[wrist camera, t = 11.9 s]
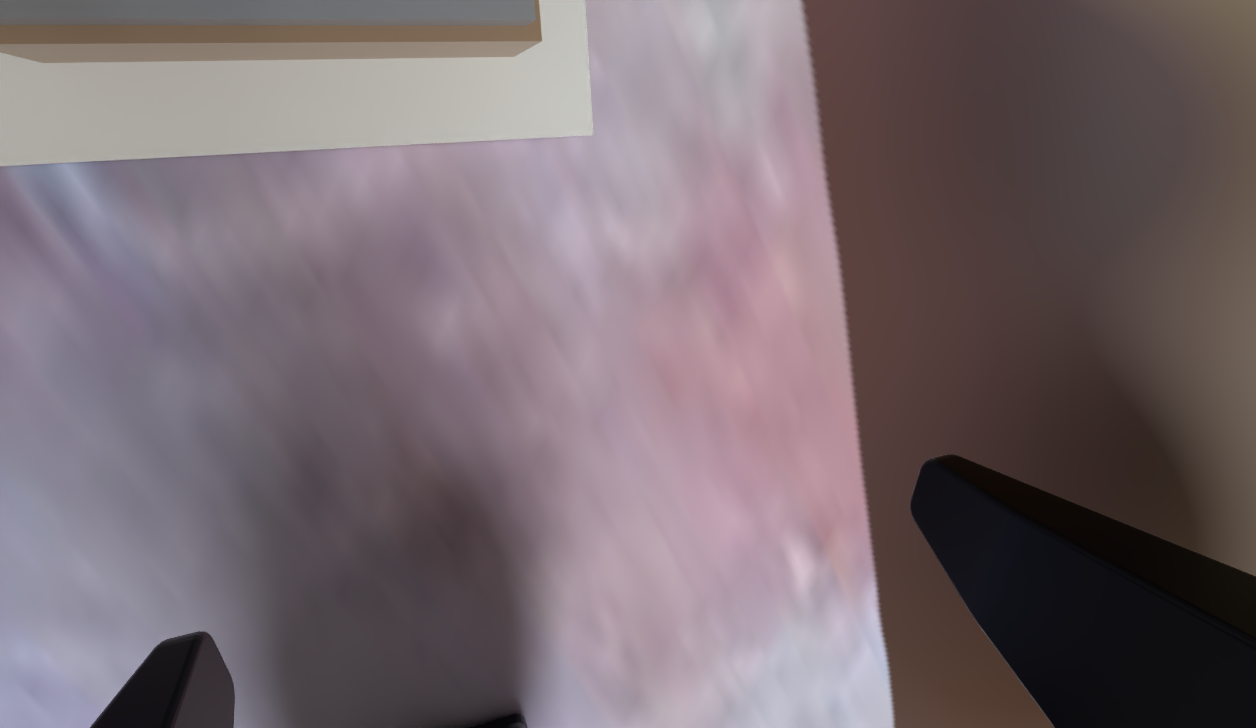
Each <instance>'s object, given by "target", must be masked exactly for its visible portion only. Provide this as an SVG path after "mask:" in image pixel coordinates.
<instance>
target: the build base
mask: <svg viewBox="0 0 1256 728" xmlns="http://www.w3.org/2000/svg"><path fill="white" fill-rule="evenodd" d="M585 135H593V122H592V106H591V89H590V73H589V57H588V41H587V24H586V8H585V0H0V166H15V165H34V164H53V163H72V162H91V161H110V160H129V159H148V158H167V157H186V156H205V155H224V154H243V153H262V152H281V151H300V150H319V149H338V148H357V147H376V146H395V145H414V144H433V143H452V142H471V141H490V140H509V139H528V138H547V137H566V136H585Z"/></svg>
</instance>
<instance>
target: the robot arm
mask: <svg viewBox="0 0 1256 728" xmlns="http://www.w3.org/2000/svg"><path fill="white" fill-rule="evenodd" d="M910 511H911V514H912V517H913V519H914V521H915V523H916V524H917V526H918V528H919V529H920V531H921V533H922V534H923V536H924V538H925V539H926V541H927V543H928V544H929V546H930V547H931V549H932V551H933V552H934V554H935V556H936V557H937V559H938V561H939V562H940V564H941V566H942V567H943V569H944V571H945V572H946V574H947V576H948V577H949V579H950V581H951V582H952V584H953V585H954V587H955V589H956V591H957V592H958V594H959V596H960V597H961V599H962V600H963V602H964V603H965V605H966V607H967V608H968V609H969V611H970V613H971V614H972V616H973V617H974V619H975V620H976V621H977V623H978V624H979V626H980V627H981V628H982V630H983V631H984V633H985V634H986V635H987V637H988V638H989V639H990V641H991V642H992V643H993V645H994V646H995V648H996V649H997V650H998V652H999V653H1000V654H1001V656H1002V657H1003V658H1004V660H1005V661H1006V662H1007V664H1008V665H1009V666H1010V668H1011V669H1012V671H1013V672H1014V673H1015V674H1016V676H1017V677H1018V679H1019V680H1020V682H1021V683H1022V684H1023V686H1024V687H1025V688H1026V690H1027V691H1028V692H1029V694H1030V695H1031V696H1032V698H1033V699H1034V701H1035V702H1036V703H1037V705H1038V706H1039V707H1040V709H1041V710H1042V711H1043V713H1044V714H1045V715H1046V717H1047V718H1048V719H1049V721H1050V722H1051V724H1052V725H1053V726H1054V728H1256V576H1253V575H1251V574H1248V573H1246V572H1243V571H1241V570H1238V569H1236V568H1234V567H1231V566H1229V565H1226V564H1224V563H1221V562H1219V561H1216V560H1214V559H1211V558H1209V557H1206V556H1204V555H1202V554H1199V553H1197V552H1194V551H1191V550H1189V549H1187V548H1184V547H1182V546H1179V545H1177V544H1174V543H1172V542H1170V541H1167V540H1165V539H1162V538H1160V537H1157V536H1155V535H1152V534H1150V533H1147V532H1145V531H1142V530H1140V529H1137V528H1135V527H1133V526H1130V525H1128V524H1125V523H1123V522H1120V521H1118V520H1115V519H1113V518H1110V517H1108V516H1105V515H1103V514H1101V513H1098V512H1096V511H1093V510H1091V509H1088V508H1086V507H1083V506H1081V505H1078V504H1076V503H1073V502H1071V501H1068V500H1066V499H1063V498H1061V497H1059V496H1056V495H1054V494H1051V493H1049V492H1046V491H1044V490H1041V489H1039V488H1036V487H1034V486H1031V485H1029V484H1026V483H1024V482H1022V481H1019V480H1017V479H1014V478H1011V477H1009V476H1007V475H1004V474H1002V473H1000V472H997V471H994V470H992V469H990V468H987V467H985V466H982V465H980V464H977V463H975V462H972V461H970V460H967V459H965V458H962V457H960V456H957V455H954V454H947V455H942V456H938V457H934V458H929V459H927V460H926V461H924V463H923V464H922V465H921V468H920V471H919V474H918V477H917V480H916V484H915V487H914V490H913V493H912V496H911V500H910ZM234 703H235V695H234V685H233V681H232V677H231V675H230V673H229V671H228V669H227V667H226V665H225V663H224V661H223V659H222V656H221V654H220V652H219V650H218V648H217V646H216V644H215V642H214V640H213V638H212V637H211V636H210V635H209V634H208V633H207V632H200V631H199V632H195V633H191V634H187V635H183V636H178V637H174V638H170V639H167V640H164V641H163V642H161V643H160V644H159V645H157V646H156V647H155V648H154V649H153V651H152V652H151V653H150V654H149V655H148V657H147V658H146V659H145V660H144V662H143V663H142V664H141V665H140V667H139V668H138V669H137V670H136V671H135V673H134V674H133V675H132V676H131V678H130V679H129V680H128V681H127V683H126V684H125V685H124V686H123V687H122V689H121V690H120V691H119V692H118V694H117V695H116V696H115V697H114V699H113V700H112V701H111V702H110V704H109V705H108V706H107V707H106V708H105V710H104V711H103V712H102V713H101V715H100V716H99V717H98V718H97V720H96V721H95V722H94V723H93V724H92V726H91V727H90V728H233V726H234ZM472 728H527V725H526V721H525V719H524V717H523V716H522V715H520V714H512V715H508V716H505V717H502V718H499V719H496V720H493V721H490V722H487V723H484V724H481V725H478V726H475V727H472Z"/></svg>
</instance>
